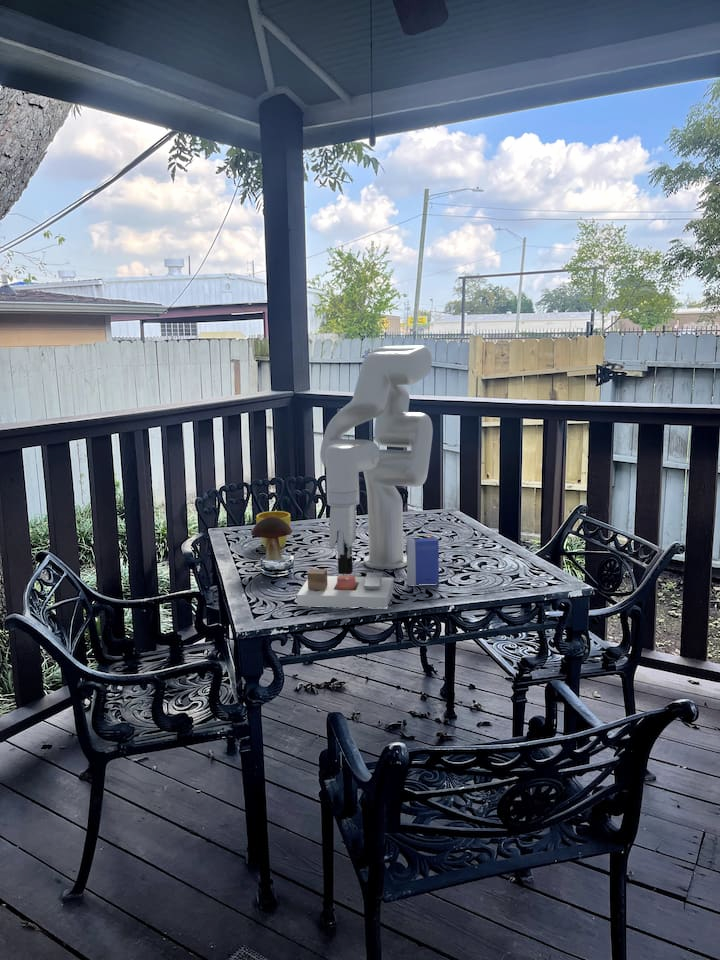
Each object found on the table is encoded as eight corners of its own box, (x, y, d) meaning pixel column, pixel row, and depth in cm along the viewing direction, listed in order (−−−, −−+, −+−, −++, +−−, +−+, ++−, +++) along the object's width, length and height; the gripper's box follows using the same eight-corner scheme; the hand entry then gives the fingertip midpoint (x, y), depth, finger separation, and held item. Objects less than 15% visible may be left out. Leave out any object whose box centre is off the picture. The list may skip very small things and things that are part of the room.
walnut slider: (311, 584, 157) (310, 568, 156) (327, 585, 156) (326, 569, 156) (308, 589, 154) (307, 573, 153) (324, 589, 153) (324, 573, 153)
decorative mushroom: (302, 568, 179) (299, 515, 176) (271, 579, 171) (268, 524, 168) (275, 560, 186) (272, 509, 183) (245, 571, 178) (241, 518, 175)
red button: (339, 586, 159) (338, 574, 158) (357, 586, 158) (356, 575, 158) (335, 593, 155) (335, 581, 154) (354, 593, 154) (353, 581, 153)
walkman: (436, 581, 166) (436, 535, 164) (438, 585, 163) (438, 539, 161) (405, 583, 165) (405, 537, 163) (407, 587, 163) (406, 540, 160)
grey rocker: (367, 575, 158) (367, 572, 158) (382, 575, 157) (382, 572, 157) (364, 588, 153) (363, 585, 152) (379, 589, 152) (379, 586, 152)
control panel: (310, 587, 165) (309, 572, 164) (393, 589, 161) (393, 574, 161) (297, 607, 152) (296, 591, 151) (387, 609, 149) (387, 593, 148)
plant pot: (294, 540, 205) (293, 510, 203) (288, 550, 195) (286, 519, 193) (262, 540, 206) (260, 510, 204) (254, 550, 196) (252, 519, 194)
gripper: (333, 490, 160) (336, 562, 163) (320, 504, 145) (323, 583, 149) (363, 490, 159) (365, 563, 162) (353, 505, 144) (356, 584, 148)
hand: (345, 572), depth 155 cm, fingers closed
